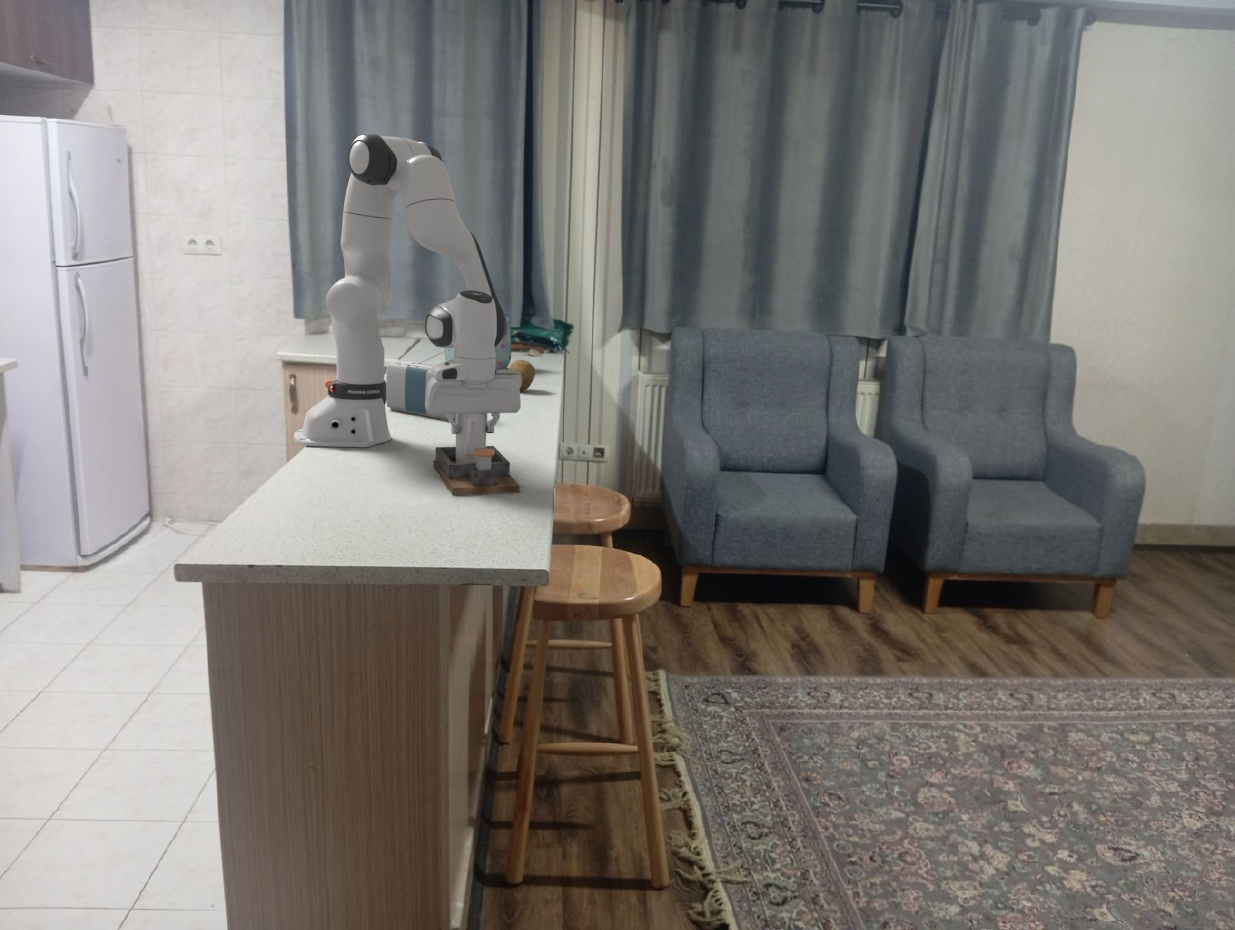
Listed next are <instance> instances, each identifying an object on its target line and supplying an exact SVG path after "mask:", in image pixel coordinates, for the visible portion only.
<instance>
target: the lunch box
mask: <svg viewBox="0 0 1235 930" xmlns="http://www.w3.org/2000/svg"><path fill="white" fill-rule="evenodd" d="M505 316H506V319H507V331H506V334H505V336H504V338H503V339H502V340H501V342H500V343H499V344H498V345H497V346H496V347H494V349H495V353H496V365H495V369H500V370H506V369H507V368H509V367H508V366H510V363H511V360H512V331H511V330H512V329H511V328H512V326H511V325H512V323H511V319H510V316H509V315H508V314H507V313H505ZM447 349H449V348H444V350H447ZM444 359H445V360H444V362H446V361H449V360H452V359H454V348H451V349H450V350H447V351H446V352H444Z"/></svg>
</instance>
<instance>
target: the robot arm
mask: <svg viewBox="0 0 1235 930" xmlns="http://www.w3.org/2000/svg"><path fill="white" fill-rule="evenodd" d="M440 153H441V152H439V151H438V149H437V148H435V147H434V146H432V145H430V144H429V143H426V142H423V141H416V140H413V139H410V138H405V137H402V136H386V135H378V134H376V133H375V134H374V133H373V134H372V133H371V134H370V133H369V134H362V135H359V136H357V137H356V138H355V139H354V140H353V141H352V143H351V145H350V147H349V151H348V154H347V155H348V156H347V157H348V158H347V161H348V167H349V169H350V172H351V173H350V175H349V176H350V177H349V180H348V183H347V186H346V191H345V196H344V202H343V203H344V204H343V212H342V224H341V225H342V226H341V235H340V249H341V251H342V255H343V264H344V277H343V278H341V279H339V280H338V281H336V282H335V283H334V284H333V285H331V287H330V289H329V290H328V292H327V294H326V295H325V307H326V310H327V313H328V314H329V316H330V322H331V326H332V332H333V335H334V342H335V354H336V356H335V357H336V379H334V380H332V379H326V380H325V381H324V386H325V387H326V389H327V396H326V397H324V398H323V399H322V400H320V401H319V402H318V403H316V404H315V405H314V406H312V407H310V409H308V410H307V412H306V414H305V417H304V421H303V427H302V428H300V429H298V430H296V431H295V432H294V434H293V440H294V443H297V444H298V445H300V446H304V447H334V448H335V447H336V448H337V447H339V448H340V447H346V448H348V447H350V448H369V447H372V446H375V445H377V444H381V443H386V442H389V441H390V440H391V439H392V436H391V433H390V430H389V425H388V419H387V412H386V411H387V410H386V405H387V403H386V400H387V386H386V379H385V345H384V344H383V341H382V338H381V337H382V336H381V331H380V325H379V319H380V318H381V317H383V315H384V314H386V313H387V312H388V310H389V308H390V307H391V305H392V302H393V290H392V279H391V278H392V274H391V262H390V261H391V259H390V257H391V255H390V253H391V251H390V250H391V239H392V232H393V219H394V206H395V205H394V204H395V199H396V197H397V195H398V194H399V193H400V192H401V194H402V199H403V200H402V201H403V206H404V214H405V219H406V223H407V227H408V230H409V232H410V234H411V237H412V238H413V239H414V241H416V242H417V243H418V244H419V245H421V246H422V247H423V248H425V249H427V250H430V251H431V252H435V253H437V254H439V255H441V256H443V257H445V258H447V259H449V260H450V261H452V262H453V263H454V264H456V265H457V266H458V268H459V269H460V271H461V274H462V275H463V278H464V282H465V286H466V288H467V290H466V289H465V290H462V291H460V292H458V293H457V295H456V296H455V298H453V299H451V300H448V301H446V302H443V303H438V304H435V305H433V306H432V307H431V308H430V309H429V311H428V313H427V314H426V317H425V322H424V323H425V324H424V330H425V334H426V336H427V338H428V340H429V341H430V343H431V344H432V345H434V346H435V347H436V348H442V349H445V348H454V359H452V360H449V361H443V362H440V363H437V364H433V365H434V366H432V368H431V372H432V375H433V376H434V377H432V378H431V379H430V380H429V382H428V384H427V389H426V396H425V408H426V410H427V411H428V412H429V413H431V414H447V418H448V419H447V421H448V422H449V424H450V425H451V434H453V435H456V434H460V431H459V430H460V426H459V425H458V424H456V422H454V419H456V417H455V414H457V413H487V414H491V416H492V419H491V420H490V422H489V423H487V424H486V434H494V433H495V426H496V424H497V423H498V421H499V420H500V417H501V414H516V413H518V412H519V411H520V410H521V406H522V404H521V391H520V390H519V389H520V387H521V384H522V377H521V375H520V373H518V372H516V371H515V370H508V369H503V370H500V369H495V365H496V353H495V349H494V347H496V346H497V345H498V344H499V343H500V342H501V340H502V339H503V338H504V336H505V334H506V331H507V319H506V316H505V314H506V313H505V311H504V310H503V308H502V305H501V304H500V302H499V299H498V297H497V295H496V292H495V289H494V285H493V282H492V280H491V277H490V272H489V271H488V268H487V264H486V261H485V259H484V255H483V252H482V250H481V247H480V245H479V242H478V239H477V238H476V236H475V234H473V233H472V232H471V231H469V229H468V228H467V226H466V225H465V223H464V221H463V219H462V218H461V215H460V213H459V210H458V207H457V202H456V195H455V193H454V188H453V185H452V182H451V178H450V176H449V173H448V171H447V168H446V165H445V163H444V161H443V158H442V155H441V154H440ZM515 373H516V374H518V375H514V374H515ZM506 374H509V375H506ZM308 445H309V446H308Z"/></svg>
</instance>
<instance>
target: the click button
mask: <svg viewBox="0 0 1235 930" xmlns="http://www.w3.org/2000/svg"><path fill="white" fill-rule="evenodd" d="M473 455H475V456H476V469H477V470H491V458H492V456H494V455H495V450H494V449H491V448H476V449H473Z"/></svg>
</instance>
